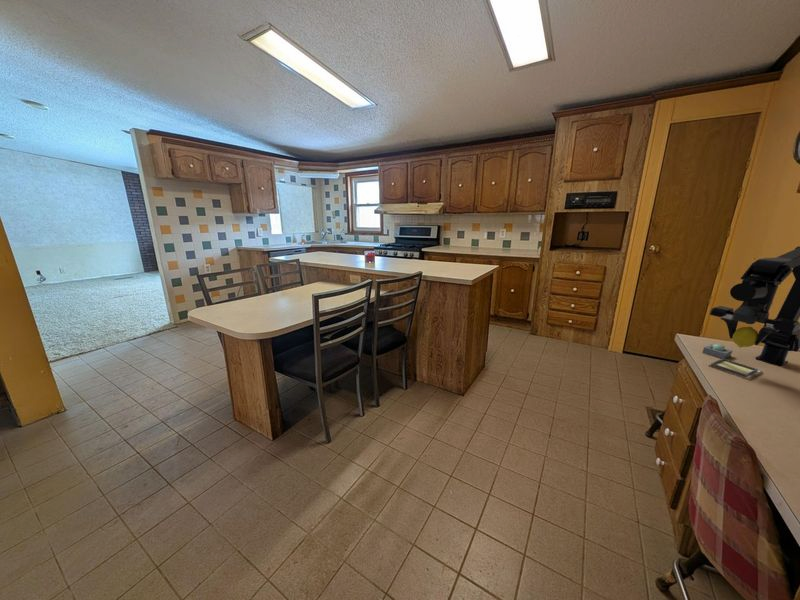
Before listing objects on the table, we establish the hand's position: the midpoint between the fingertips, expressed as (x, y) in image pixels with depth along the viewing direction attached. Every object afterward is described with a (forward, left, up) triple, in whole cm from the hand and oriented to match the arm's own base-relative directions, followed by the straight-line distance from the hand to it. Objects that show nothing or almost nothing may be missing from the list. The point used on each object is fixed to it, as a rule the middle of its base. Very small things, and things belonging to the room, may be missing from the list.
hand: (743, 341), depth 99 cm
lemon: (0, 0, -3) cm, 3 cm away
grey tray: (-1, 0, -11) cm, 11 cm away
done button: (-10, -8, -10) cm, 17 cm away
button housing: (-10, -8, -11) cm, 17 cm away
